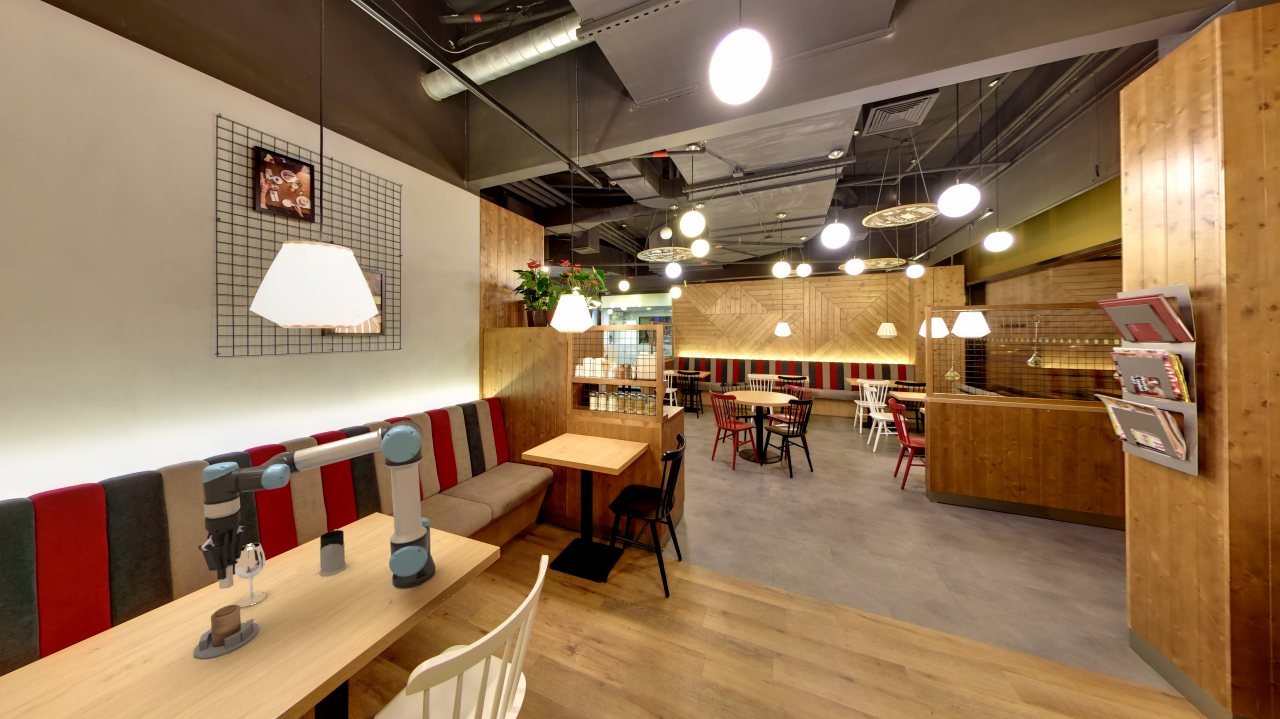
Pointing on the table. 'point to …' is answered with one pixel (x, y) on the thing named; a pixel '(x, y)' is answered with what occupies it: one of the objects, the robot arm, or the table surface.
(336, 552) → the glass holder
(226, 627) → the stopper
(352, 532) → the table surface
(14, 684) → the table surface
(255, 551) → the wineglass
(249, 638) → the grey round base
